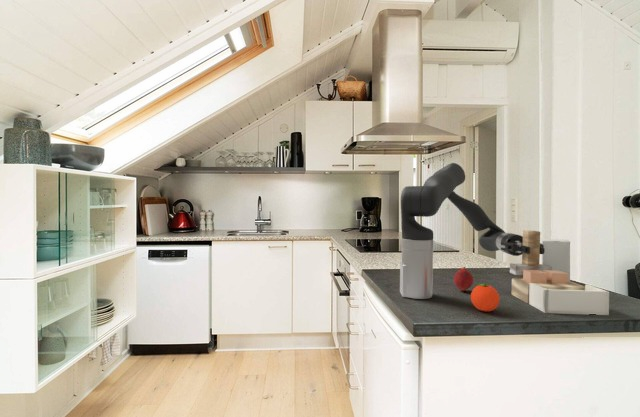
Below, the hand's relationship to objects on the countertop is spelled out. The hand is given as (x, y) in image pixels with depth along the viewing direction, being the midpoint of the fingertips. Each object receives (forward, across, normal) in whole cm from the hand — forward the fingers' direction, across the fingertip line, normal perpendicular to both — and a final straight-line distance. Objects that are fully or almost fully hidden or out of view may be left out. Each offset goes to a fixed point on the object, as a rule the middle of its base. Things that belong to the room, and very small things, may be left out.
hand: (535, 250), depth 111 cm
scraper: (-3, 0, +8) cm, 9 cm away
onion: (0, -22, +14) cm, 26 cm away
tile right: (+6, +3, +8) cm, 11 cm away
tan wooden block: (+7, 0, +14) cm, 15 cm away
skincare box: (-16, +15, +14) cm, 26 cm away
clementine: (+20, -23, +14) cm, 33 cm away
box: (+17, 0, +13) cm, 21 cm away
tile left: (+6, -3, +8) cm, 11 cm away
